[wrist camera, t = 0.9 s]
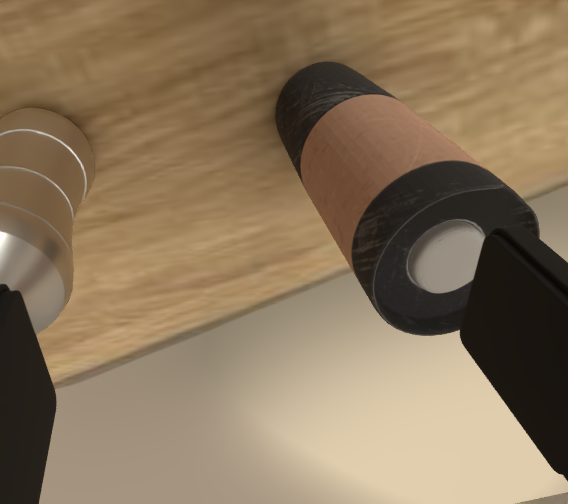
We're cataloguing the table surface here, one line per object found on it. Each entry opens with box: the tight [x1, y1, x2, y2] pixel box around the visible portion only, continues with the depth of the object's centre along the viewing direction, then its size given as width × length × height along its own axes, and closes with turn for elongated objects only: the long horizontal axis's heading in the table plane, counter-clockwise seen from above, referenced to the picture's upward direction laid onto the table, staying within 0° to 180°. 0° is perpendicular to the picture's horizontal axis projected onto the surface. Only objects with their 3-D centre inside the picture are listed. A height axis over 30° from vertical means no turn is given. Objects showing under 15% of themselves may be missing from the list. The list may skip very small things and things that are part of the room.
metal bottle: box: [0, 108, 95, 334], centre depth 26 cm, size 6×7×20 cm
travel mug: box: [276, 62, 540, 336], centre depth 29 cm, size 8×8×20 cm
